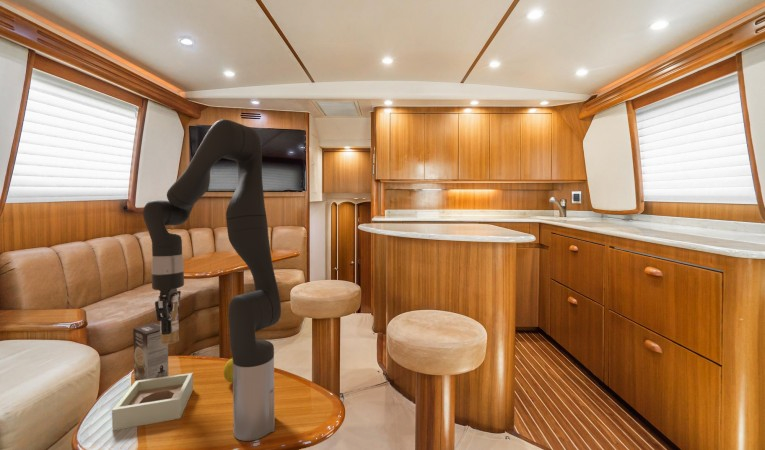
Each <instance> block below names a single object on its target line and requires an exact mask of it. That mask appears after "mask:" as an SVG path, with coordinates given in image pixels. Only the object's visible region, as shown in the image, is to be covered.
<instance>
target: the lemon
mask: <svg viewBox="0 0 765 450" xmlns="http://www.w3.org/2000/svg"><path fill="white" fill-rule="evenodd" d="M223 376H224V378H225V380H226V381H227V382H228V383H232V384H233V357H232V358H229V359H228V360H227V361H226V363H225V364H224V368H223Z"/></svg>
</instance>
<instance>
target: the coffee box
mask: <svg viewBox="0 0 765 450" xmlns="http://www.w3.org/2000/svg"><path fill="white" fill-rule="evenodd" d="M132 329H133V331H132V332H133V334H132V335H133V338H132V339H133V376H134V379H137V381H138V380H145V379H152V378H159V377H166V376H169V344H168V345H163V344H161V343H160V342H161V333H160V323H158V322H156V321H155V322H154V321H153V322H151V323H147V324H143V325H139V326H136V327H133V328H132Z"/></svg>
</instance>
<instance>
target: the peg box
mask: <svg viewBox="0 0 765 450" xmlns="http://www.w3.org/2000/svg"><path fill="white" fill-rule="evenodd" d="M193 390H194V372H188V373H181V374H174V375H168V376H166V377H159V378H152V379H145V380H138V379H137V380H135V381H134V383H133V384H132V385H131V386H130V388H129V389H128V390H127V391H126V393H124V395H123V396H122V397H121V399H120V400H119V401H118V402H117V403H116V404H115V406H114V407H113V408H112V410H111V418H112V419H111V421H112V431H118V430H125V429H128V428H129V429H130V428H135V427H140V426H145V425H151V424H156V423H162V422H167V421H173V420H179V419H181V418H182V415H183V413H184V410H185V408H186V406H187V404H188V402H189V399H190V398H191V395H192V393H193Z"/></svg>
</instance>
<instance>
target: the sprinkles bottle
mask: <svg viewBox="0 0 765 450" xmlns="http://www.w3.org/2000/svg"><path fill="white" fill-rule="evenodd" d="M174 295H176V300H175V301H174V311H173V312H172V319H171V327H172V332H171V333H170V334H165V335H163V334H162V331H161V321H159V324H160V333H161V342H160V343H161V344H163V345H168V346H169V345H173V344H175V343H177V342H179V341H180V337H179V336H180V335H179V329H180V326H179V323H180V322H179V311H178V302H177V301H178V295H177V294H174ZM170 308H171V307H168V309H170ZM164 316H165V313H164Z"/></svg>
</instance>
